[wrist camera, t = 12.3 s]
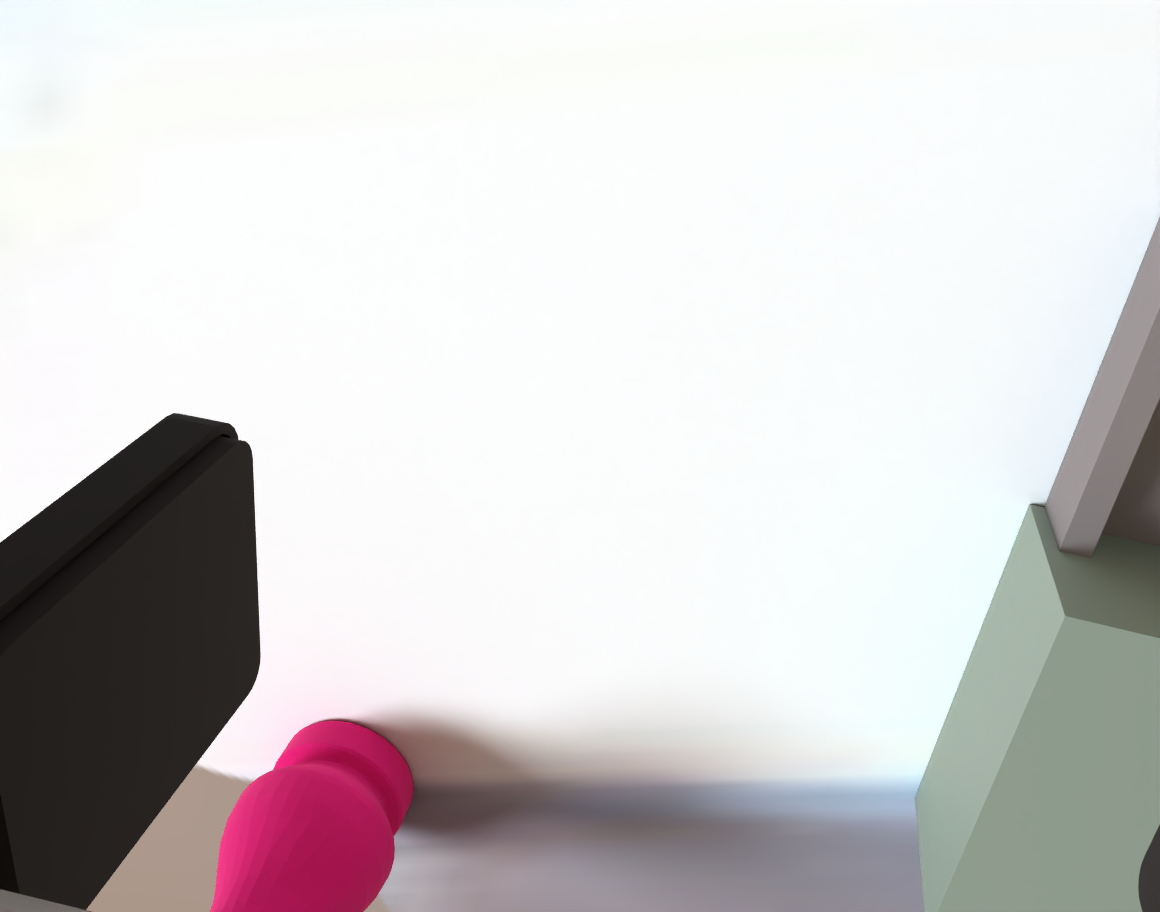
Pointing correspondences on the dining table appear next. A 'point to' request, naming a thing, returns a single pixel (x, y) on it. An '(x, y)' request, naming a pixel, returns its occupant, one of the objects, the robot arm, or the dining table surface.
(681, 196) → the dining table surface
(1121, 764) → the green boxy piece
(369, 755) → the pepper mill
